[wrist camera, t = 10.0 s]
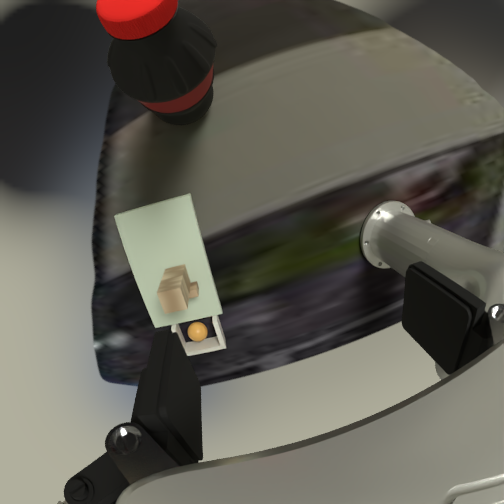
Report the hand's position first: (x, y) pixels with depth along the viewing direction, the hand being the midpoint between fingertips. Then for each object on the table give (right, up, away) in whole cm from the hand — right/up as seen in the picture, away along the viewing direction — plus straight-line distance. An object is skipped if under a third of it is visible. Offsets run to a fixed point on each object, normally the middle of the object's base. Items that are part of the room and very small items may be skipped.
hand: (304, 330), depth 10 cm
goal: (-11, -11, +38) cm, 41 cm away
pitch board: (-15, +1, +33) cm, 36 cm away
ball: (-11, -11, +36) cm, 39 cm away
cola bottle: (-12, +25, +25) cm, 37 cm away
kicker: (-13, -1, +32) cm, 35 cm away
